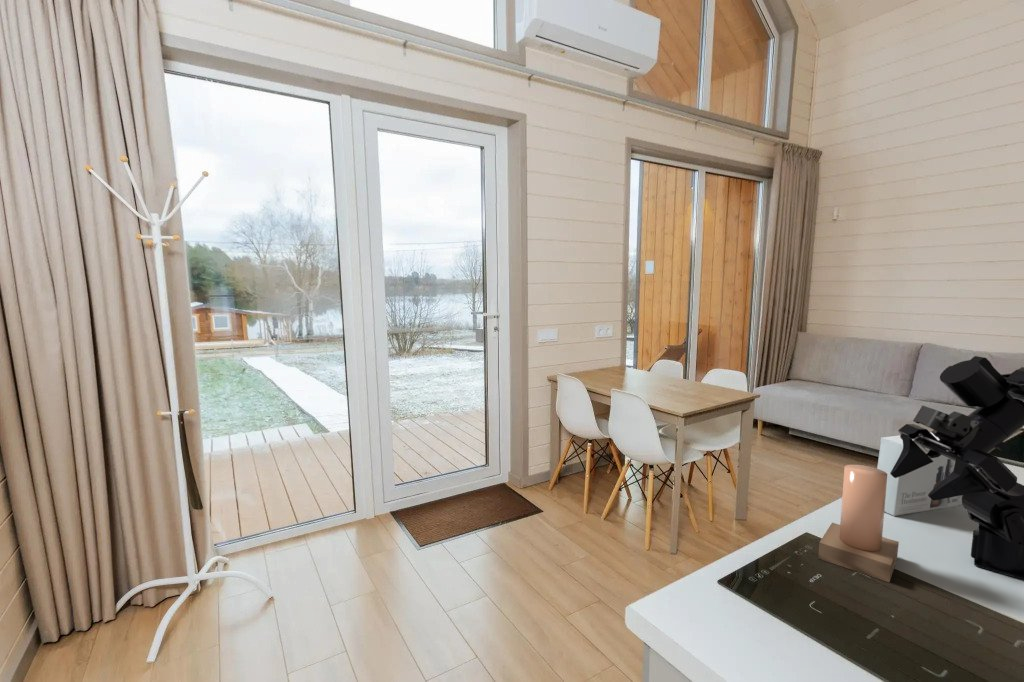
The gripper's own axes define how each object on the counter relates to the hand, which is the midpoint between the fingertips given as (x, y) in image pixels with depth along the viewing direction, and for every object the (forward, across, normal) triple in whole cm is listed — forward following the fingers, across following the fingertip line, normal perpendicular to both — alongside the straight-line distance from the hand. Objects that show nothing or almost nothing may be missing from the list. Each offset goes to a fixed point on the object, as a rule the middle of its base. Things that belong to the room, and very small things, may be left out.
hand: (910, 486), depth 82 cm
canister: (+13, 0, +2) cm, 13 cm away
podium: (+15, 0, +4) cm, 16 cm away
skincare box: (-3, -23, +23) cm, 33 cm away
